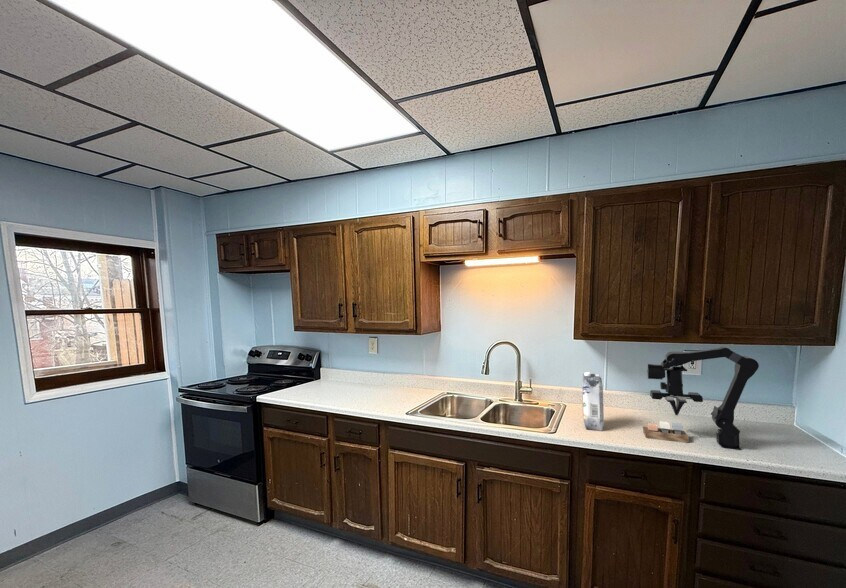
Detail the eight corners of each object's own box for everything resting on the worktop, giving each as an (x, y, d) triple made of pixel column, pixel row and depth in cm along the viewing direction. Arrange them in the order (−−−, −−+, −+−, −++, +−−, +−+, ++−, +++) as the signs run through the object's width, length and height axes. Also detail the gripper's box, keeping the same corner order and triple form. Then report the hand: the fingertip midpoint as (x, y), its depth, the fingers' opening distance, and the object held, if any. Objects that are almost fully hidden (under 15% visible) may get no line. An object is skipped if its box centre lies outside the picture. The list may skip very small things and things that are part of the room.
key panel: (684, 436, 161) (684, 430, 161) (688, 442, 154) (688, 436, 154) (643, 432, 167) (643, 426, 167) (645, 437, 160) (645, 431, 161)
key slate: (681, 433, 160) (680, 423, 160) (683, 436, 156) (682, 425, 156) (672, 433, 161) (671, 422, 161) (674, 435, 158) (673, 425, 158)
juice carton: (602, 424, 178) (600, 371, 178) (604, 432, 168) (603, 375, 168) (582, 422, 181) (581, 370, 181) (584, 430, 171) (582, 374, 172)
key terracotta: (656, 434, 163) (655, 424, 163) (657, 437, 160) (657, 426, 160) (647, 433, 165) (647, 423, 165) (649, 436, 162) (648, 425, 162)
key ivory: (668, 432, 161) (668, 422, 161) (670, 435, 158) (670, 424, 158) (659, 431, 163) (659, 421, 163) (661, 434, 160) (661, 423, 160)
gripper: (694, 377, 163) (696, 411, 162) (647, 375, 170) (648, 407, 170) (702, 383, 152) (704, 419, 152) (651, 380, 160) (653, 415, 160)
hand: (676, 415), depth 159 cm, fingers closed
